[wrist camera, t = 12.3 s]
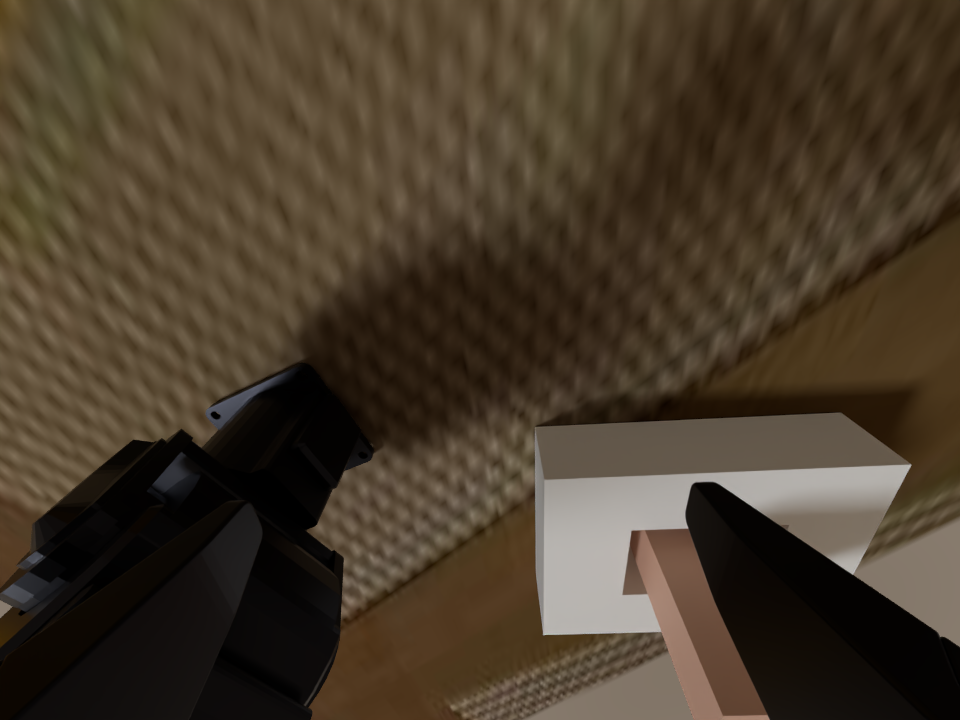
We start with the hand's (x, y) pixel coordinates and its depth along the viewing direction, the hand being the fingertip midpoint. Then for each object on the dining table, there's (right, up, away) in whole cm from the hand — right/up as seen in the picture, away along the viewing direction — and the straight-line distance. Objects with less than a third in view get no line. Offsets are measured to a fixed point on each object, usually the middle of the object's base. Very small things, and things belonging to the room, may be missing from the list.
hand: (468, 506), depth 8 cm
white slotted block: (+12, -6, +16) cm, 21 cm away
